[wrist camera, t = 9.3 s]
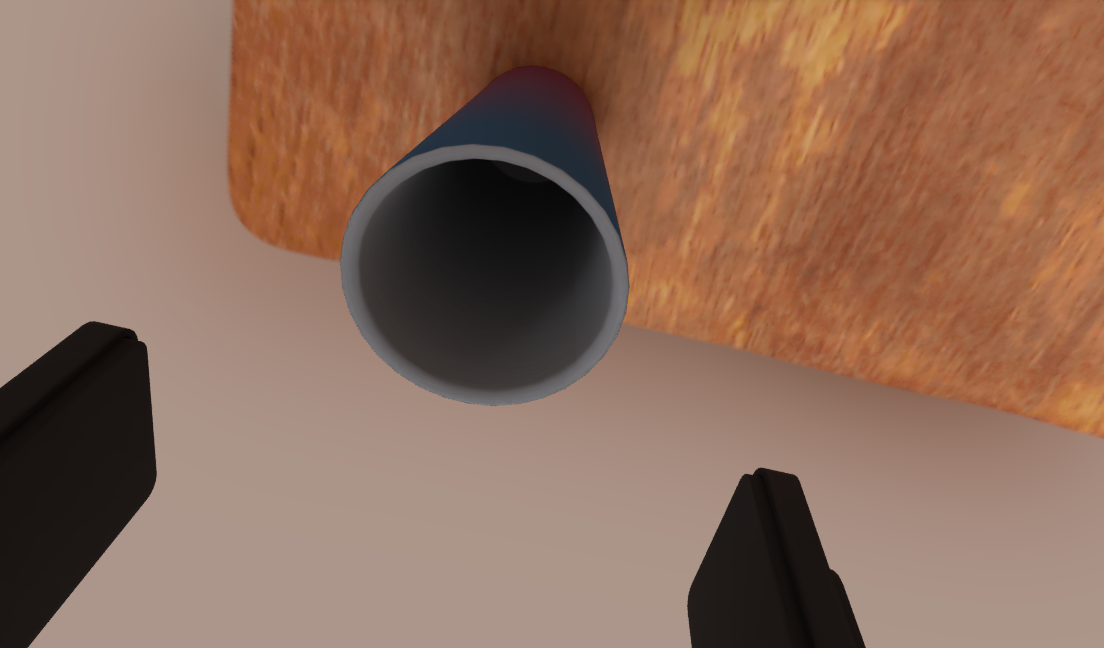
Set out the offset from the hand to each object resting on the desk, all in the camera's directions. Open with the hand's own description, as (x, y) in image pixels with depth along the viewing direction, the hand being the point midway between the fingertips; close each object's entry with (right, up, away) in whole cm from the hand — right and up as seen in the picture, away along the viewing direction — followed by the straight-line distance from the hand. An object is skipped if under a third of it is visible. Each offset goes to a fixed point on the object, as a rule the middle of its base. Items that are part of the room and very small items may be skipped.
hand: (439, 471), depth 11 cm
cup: (+1, +11, +19) cm, 22 cm away
